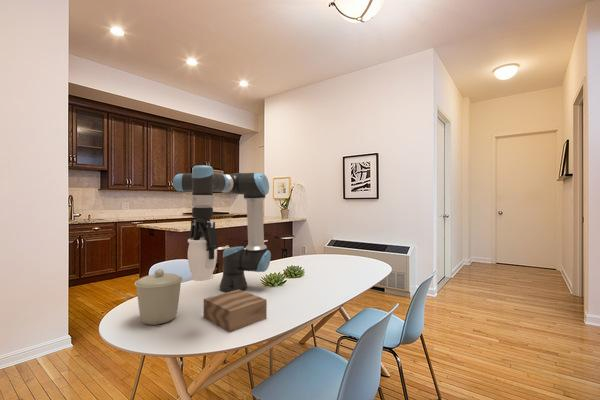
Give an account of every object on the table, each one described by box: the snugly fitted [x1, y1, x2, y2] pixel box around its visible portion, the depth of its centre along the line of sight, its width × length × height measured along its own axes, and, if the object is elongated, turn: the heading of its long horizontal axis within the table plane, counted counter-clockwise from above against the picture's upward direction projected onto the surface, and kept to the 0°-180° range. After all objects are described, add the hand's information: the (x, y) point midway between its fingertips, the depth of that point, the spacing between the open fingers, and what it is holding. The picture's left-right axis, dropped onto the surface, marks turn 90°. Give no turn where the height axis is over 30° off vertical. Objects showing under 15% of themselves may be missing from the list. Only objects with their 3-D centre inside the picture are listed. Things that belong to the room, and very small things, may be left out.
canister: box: [134, 268, 184, 326], centre depth 123 cm, size 18×18×21 cm
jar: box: [187, 236, 218, 282], centre depth 111 cm, size 11×10×15 cm
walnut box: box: [203, 290, 268, 333], centre depth 125 cm, size 20×18×8 cm
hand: (202, 265), depth 111 cm, fingers closed on jar, 10 cm apart
